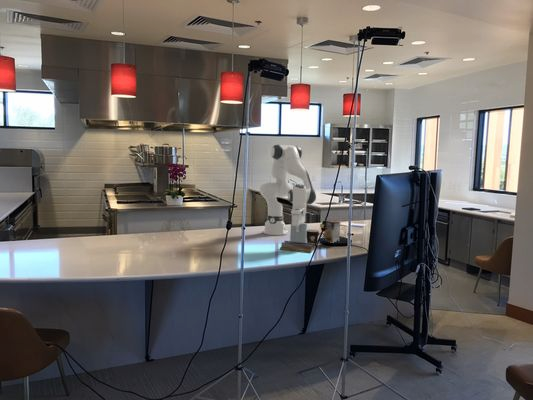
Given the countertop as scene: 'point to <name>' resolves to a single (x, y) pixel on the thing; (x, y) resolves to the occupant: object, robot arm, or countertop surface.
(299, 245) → the brown flat box
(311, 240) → the coffee mug
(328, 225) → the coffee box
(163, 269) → the countertop surface
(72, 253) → the countertop surface
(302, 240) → the grey rectangular block
